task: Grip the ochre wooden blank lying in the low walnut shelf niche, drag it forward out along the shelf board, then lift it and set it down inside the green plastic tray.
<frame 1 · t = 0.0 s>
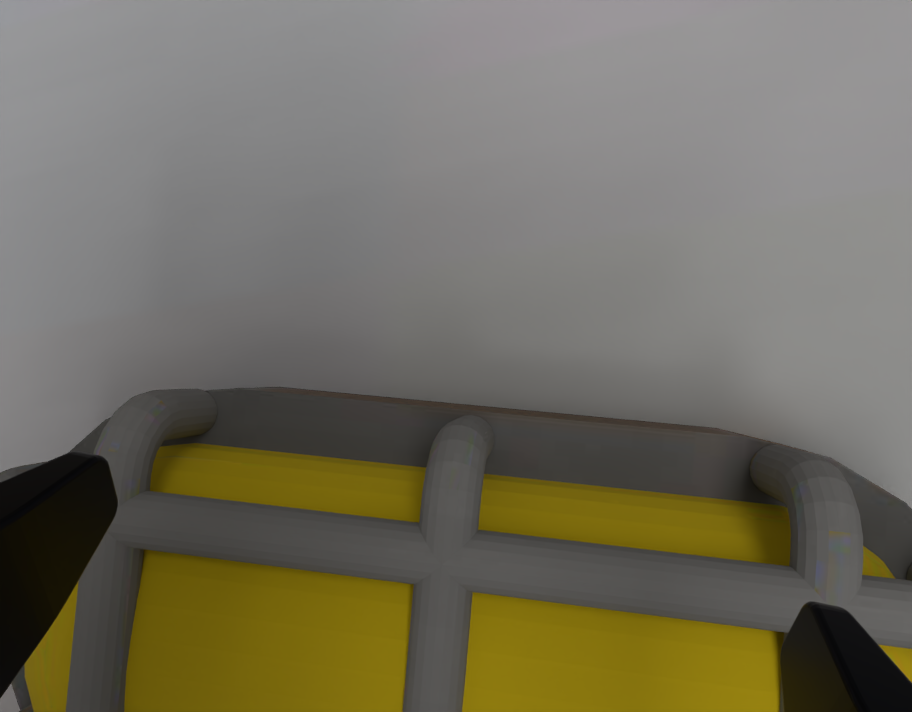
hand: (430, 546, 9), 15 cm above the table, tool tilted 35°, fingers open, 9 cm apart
cage light: (471, 612, 24), on the table
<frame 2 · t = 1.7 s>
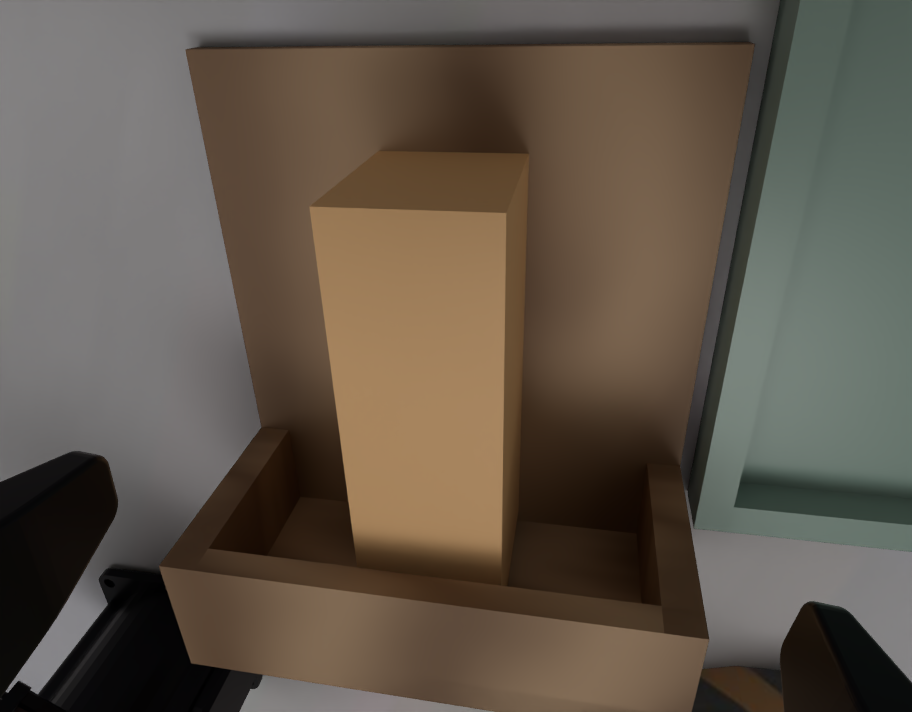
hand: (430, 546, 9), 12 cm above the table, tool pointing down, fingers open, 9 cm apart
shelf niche: (462, 410, 22), on the table
blank: (457, 353, 20), point 1 cm above the table, touching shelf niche
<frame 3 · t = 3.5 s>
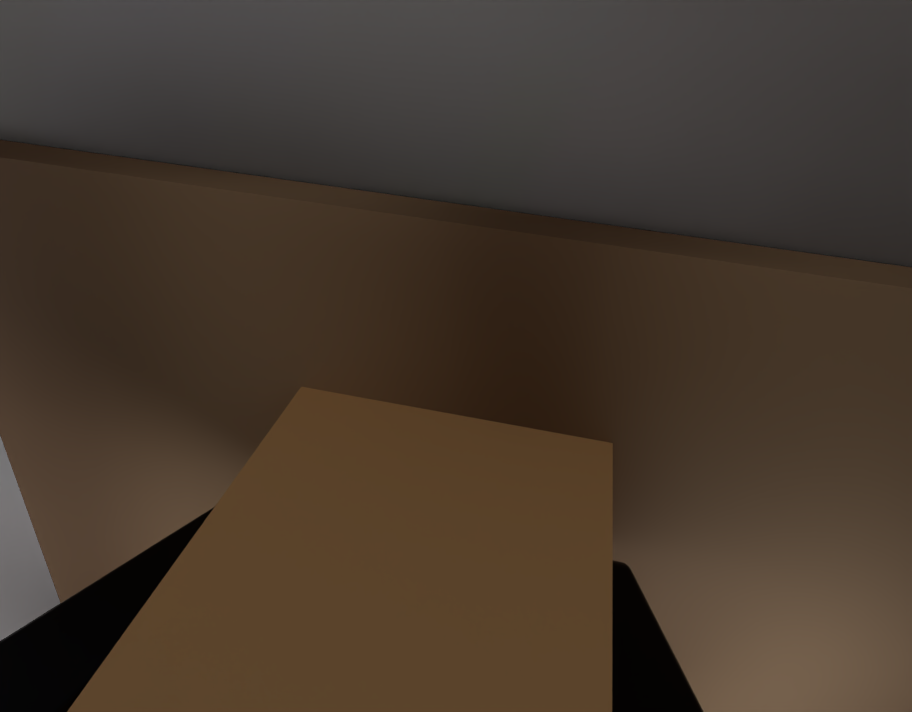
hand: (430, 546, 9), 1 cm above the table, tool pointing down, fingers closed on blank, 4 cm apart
blank: (427, 692, 12), point 1 cm above the table, touching gripper, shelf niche
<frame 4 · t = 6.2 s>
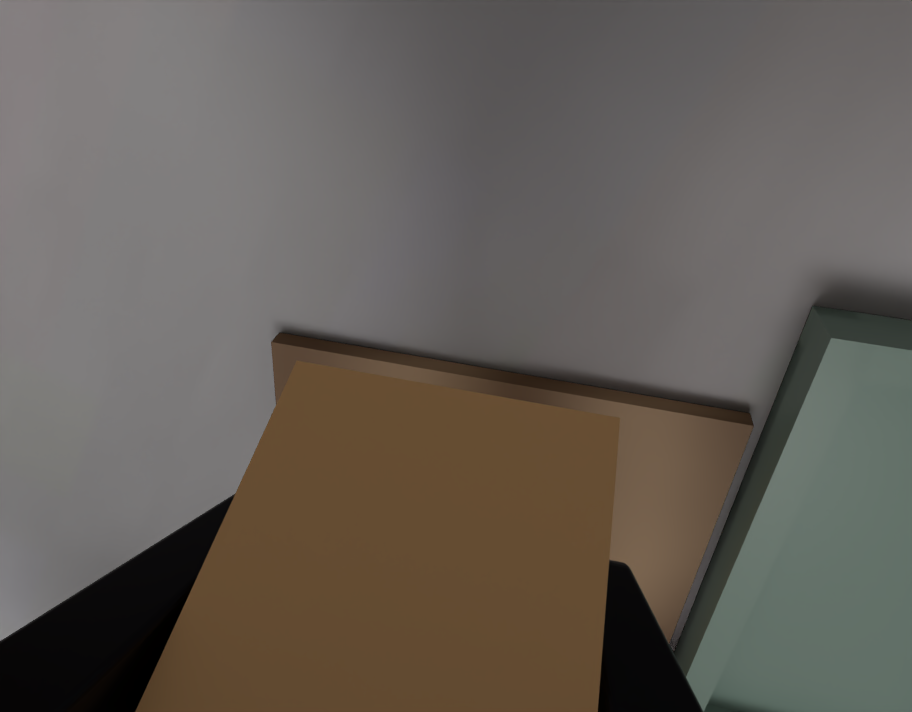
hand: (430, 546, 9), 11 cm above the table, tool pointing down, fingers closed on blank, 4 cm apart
tray: (884, 574, 21), on the table
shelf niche: (471, 613, 26), on the table
blank: (453, 570, 13), point 8 cm above the table, tilted 20°, touching gripper
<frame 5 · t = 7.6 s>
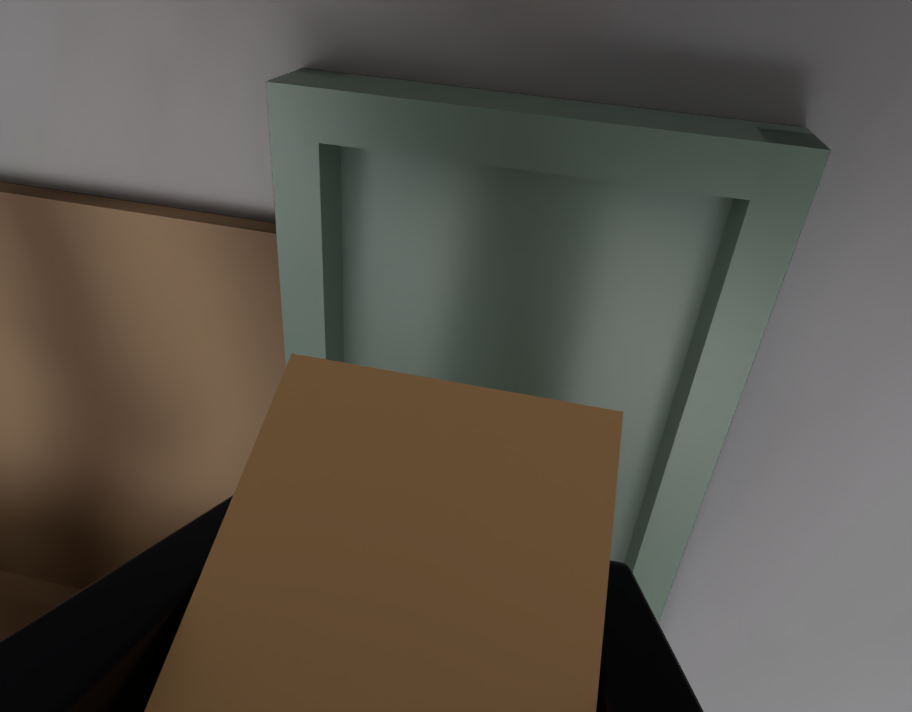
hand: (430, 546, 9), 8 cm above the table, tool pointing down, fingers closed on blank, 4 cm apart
tray: (495, 434, 18), on the table
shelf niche: (110, 506, 23), on the table
blank: (459, 539, 13), point 5 cm above the table, tilted 26°, touching gripper
when the fingers open (3 cm above the table, at t = 8.8 s): blank stays where it is, resting on tray.
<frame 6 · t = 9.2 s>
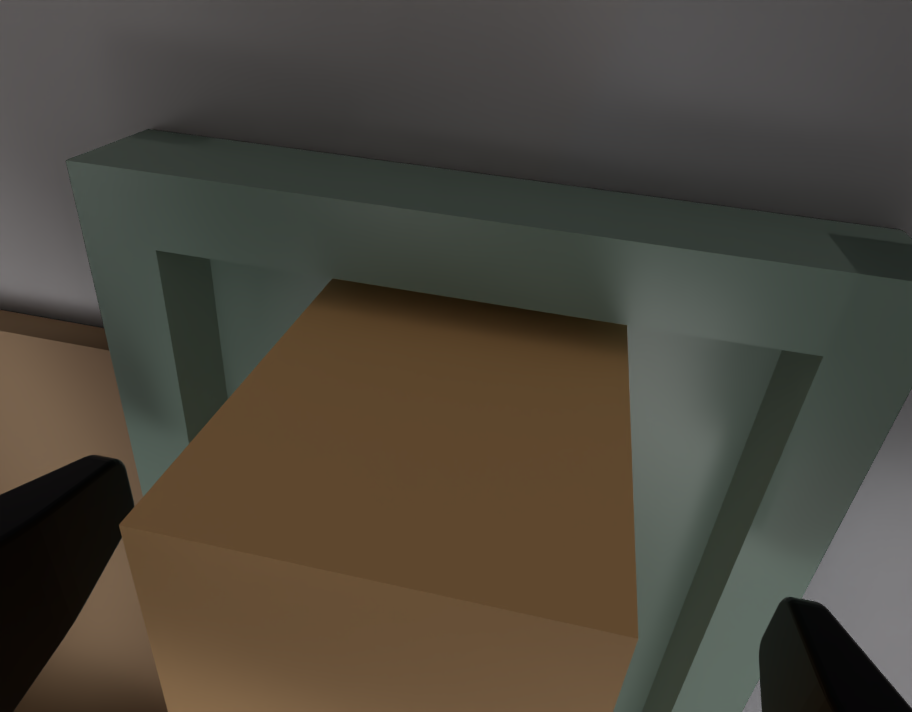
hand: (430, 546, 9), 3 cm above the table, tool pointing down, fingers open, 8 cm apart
tray: (451, 600, 13), on the table
blank: (448, 585, 12), resting on tray
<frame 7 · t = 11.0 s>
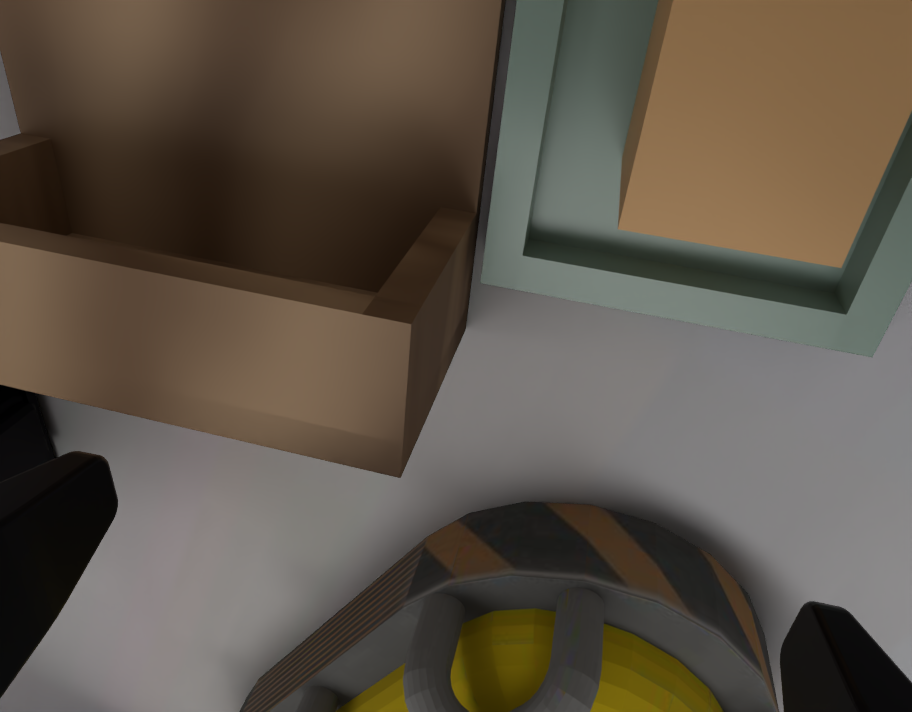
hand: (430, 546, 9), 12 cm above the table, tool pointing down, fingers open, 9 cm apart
cage light: (461, 692, 32), on the table
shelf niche: (245, 130, 19), on the table
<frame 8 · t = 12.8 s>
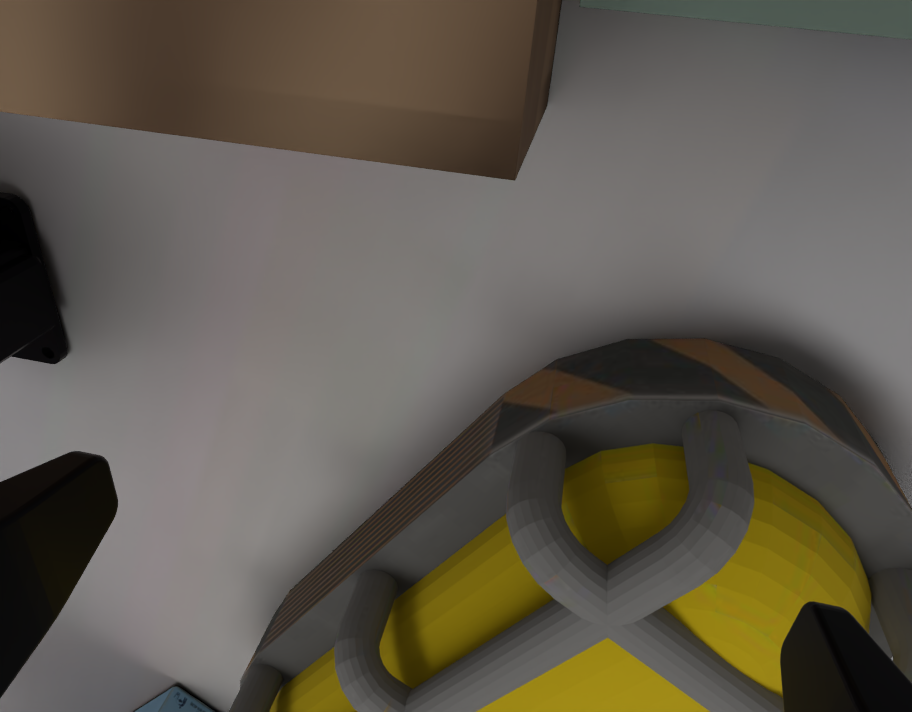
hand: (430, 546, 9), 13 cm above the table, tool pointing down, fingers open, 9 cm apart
cage light: (521, 596, 29), on the table
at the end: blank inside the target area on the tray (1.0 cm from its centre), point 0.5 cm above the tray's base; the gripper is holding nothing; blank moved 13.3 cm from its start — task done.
